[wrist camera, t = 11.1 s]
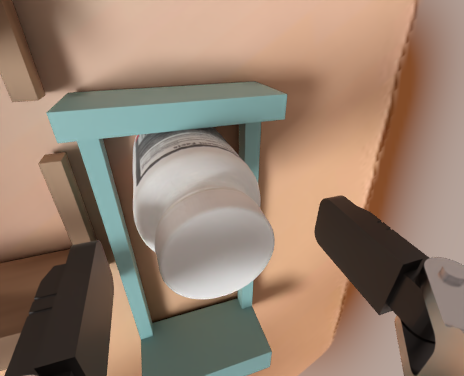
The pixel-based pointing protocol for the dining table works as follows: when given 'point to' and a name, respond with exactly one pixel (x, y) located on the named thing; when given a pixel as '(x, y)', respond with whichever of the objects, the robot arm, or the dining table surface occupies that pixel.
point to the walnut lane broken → (58, 181)
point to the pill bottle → (199, 212)
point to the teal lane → (100, 175)
